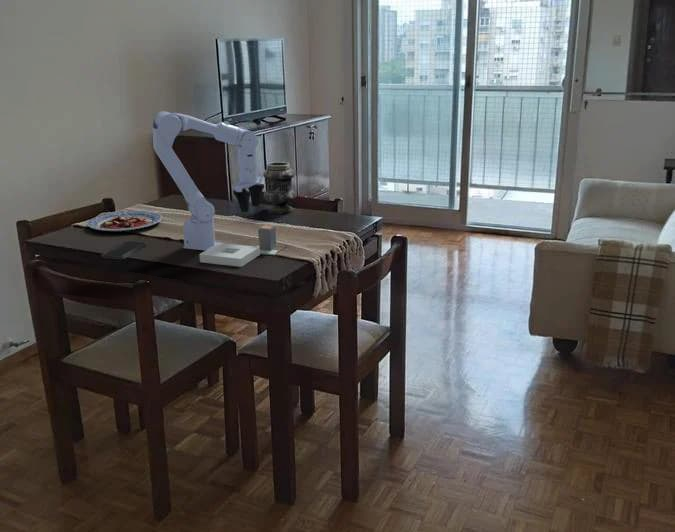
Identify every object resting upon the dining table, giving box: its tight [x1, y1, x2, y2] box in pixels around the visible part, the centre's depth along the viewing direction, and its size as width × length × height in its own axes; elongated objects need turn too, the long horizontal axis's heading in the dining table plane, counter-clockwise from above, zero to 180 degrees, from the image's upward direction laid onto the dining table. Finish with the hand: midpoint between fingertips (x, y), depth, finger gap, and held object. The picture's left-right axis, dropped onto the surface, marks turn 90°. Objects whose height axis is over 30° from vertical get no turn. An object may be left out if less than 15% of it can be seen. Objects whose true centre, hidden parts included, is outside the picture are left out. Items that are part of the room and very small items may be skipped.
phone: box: [101, 241, 147, 260], centre depth 221 cm, size 8×1×15 cm
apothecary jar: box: [262, 161, 296, 214], centre depth 264 cm, size 12×12×18 cm
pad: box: [255, 245, 281, 256], centre depth 220 cm, size 9×9×1 cm
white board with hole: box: [199, 242, 261, 268], centre depth 212 cm, size 14×12×2 cm
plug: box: [257, 224, 277, 251], centre depth 219 cm, size 4×4×7 cm
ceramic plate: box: [86, 210, 163, 233], centre depth 250 cm, size 26×26×3 cm
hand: (250, 208), depth 228 cm, fingers open, 7 cm apart
